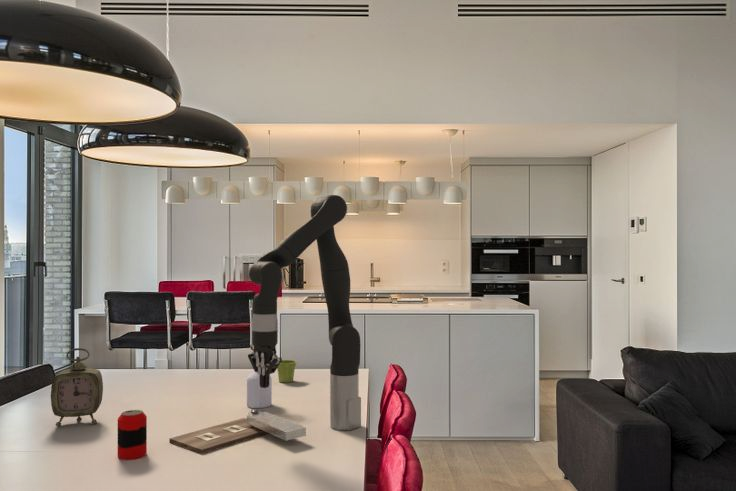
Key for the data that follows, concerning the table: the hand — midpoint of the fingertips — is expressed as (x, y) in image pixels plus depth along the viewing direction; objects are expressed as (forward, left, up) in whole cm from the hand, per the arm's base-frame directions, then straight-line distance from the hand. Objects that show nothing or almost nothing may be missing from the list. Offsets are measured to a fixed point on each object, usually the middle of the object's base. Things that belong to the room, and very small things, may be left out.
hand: (264, 387), depth 176 cm
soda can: (+21, +30, -17) cm, 40 cm away
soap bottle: (+35, -28, -17) cm, 48 cm away
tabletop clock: (+64, +25, -17) cm, 71 cm away
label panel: (+15, +3, -17) cm, 23 cm away
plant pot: (+57, -62, -17) cm, 86 cm away
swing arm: (+4, -7, -15) cm, 17 cm away
